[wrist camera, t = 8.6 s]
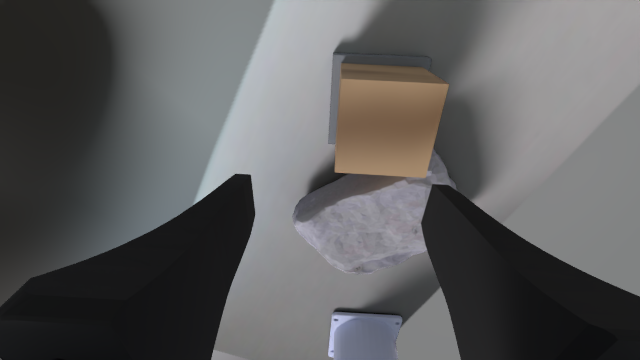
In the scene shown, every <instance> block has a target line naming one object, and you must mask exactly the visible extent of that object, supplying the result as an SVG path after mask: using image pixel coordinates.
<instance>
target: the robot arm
mask: <svg viewBox="0 0 640 360" xmlns="http://www.w3.org/2000/svg"><path fill="white" fill-rule="evenodd" d="M254 218H255V208H254V199H253V190H252V181H251V175H248V174H235V175H233V176H232V177H231V178H229V179H228V180H227V181H225V182H224V183H223V184H221V185H220V186H219V187H218V188H216V189H215V190H214V191H212V192H211V193H210V194H208V195H207V196H206V197H204V198H203V199H202V200H200V201H199V202H197V203H196V204H195V205H193V206H192V207H190V208H189V209H187V210H186V211H184V212H183V213H181V214H180V215H178V216H177V217H175V218H173V219H172V220H170V221H168V222H167V223H165V224H163V225H161V226H160V227H158V228H156V229H154V230H152V231H150V232H148V233H146V234H144V235H142V236H140V237H138V238H136V239H134V240H132V241H129V242H127V243H125V244H123V245H121V246H119V247H116V248H114V249H112V250H109V251H107V252H105V253H102V254H99V255H97V256H94V257H92V258H89V259H87V260H84V261H81V262H78V263H76V264H73V265H70V266H67V267H64V268H61V269H58V270H55V271H52V272H49V273H46V274H43V275H40V276H36V277H33V278H30V279H29V280H28V281H27V282H26V283H25V284H24V285H23V286H22V287H21V288H20V289H19V290H18V291H16V293H14V294H13V295H12V296H11V297H10V298H9V299H8V300H7V301H6V302H5V303H4V304H3V305H2V306H1V307H0V358H1V359H2V360H211V357H212V353H213V349H214V345H215V341H216V337H217V333H218V329H219V325H220V321H221V317H222V314H223V310H224V307H225V303H226V299H227V296H228V293H229V290H230V287H231V284H232V281H233V279H234V276H235V274H236V271H237V269H238V266H239V263H240V261H241V258H242V256H243V253H244V251H245V248H246V246H247V243H248V240H249V238H250V235H251V231H252V227H253V222H254ZM421 227H422V232H423V237H424V241H425V245H426V248H427V251H428V254H429V256H430V259H431V262H432V264H433V267H434V270H435V272H436V275H437V278H438V280H439V283H440V286H441V288H442V291H443V293H444V296H445V299H446V302H447V305H448V309H449V312H450V316H451V320H452V324H453V328H454V332H455V335H456V340H457V344H458V348H459V353H460V357H461V360H640V297H639V296H637V295H634V294H632V293H630V292H627V291H625V290H623V289H620V288H618V287H616V286H613V285H611V284H609V283H606V282H604V281H602V280H600V279H598V278H596V277H594V276H591V275H589V274H587V273H585V272H583V271H581V270H579V269H577V268H575V267H573V266H571V265H569V264H567V263H565V262H563V261H561V260H559V259H558V258H556V257H554V256H552V255H550V254H548V253H546V252H545V251H543V250H541V249H540V248H538V247H536V246H535V245H533V244H531V243H529V242H528V241H526V240H525V239H523V238H521V237H520V236H518V235H517V234H515V233H514V232H512V231H511V230H509V229H508V228H506V227H505V226H503V225H502V224H501V223H499V222H498V221H496V220H495V219H494V218H492V217H491V216H489V215H488V214H487V213H485V212H484V211H483V210H481V209H480V208H479V207H478V206H476V205H475V204H474V203H472V202H471V201H470V200H468V199H467V198H466V197H465V196H463V195H462V194H461V193H459V192H458V191H457V190H455V189H454V188H452V187H451V186H449V185H443V184H432V187H431V191H430V194H429V197H428V201H427V204H426V208H425V211H424V214H423V218H422V221H421ZM401 324H402V317H401V316H398V315H381V314H364V313H347V312H334V313H332V320H331V330H330V341H329V351H328V355H329V356H330V357H334V360H398V354H397V348H396V343H395V342H396V339H397V336H398V333H399V330H400V327H401Z"/></svg>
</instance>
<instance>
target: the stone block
mask: <svg viewBox="0 0 640 360" xmlns="http://www.w3.org/2000/svg"><path fill="white" fill-rule="evenodd" d="M432 184H443V185H449V186H451V187H452V188H454V189H455V190H457V188H456V184H455V183H454V182H453V180H452V179H450V178H449V176H448V172H447V169H446V167H445V165H444V163H443V161H442V160H441V158H440V157H439V155H438V154H436V152H435V149H434V148H433V150H432V154H431V158H430V162H429V166H428V170H427V174H426V178H418V177H402V176H386V175H369V174H353V173H348V174H346V175H344V176H343V177H341V178H340V179H338V180H336V181H334V182H333V183H330V184H327V185H325V186H323V187H321V188H319V189H317V190H315V191H313V192H311V193H310V194H308V195H306V196H305V197H303V198H302V199H301V200H300V201H299V203H298V204H297V205H296V207H295V210H294V213H293V216H292V217H293V222H294V225H295V228H296V230H297V231H298V233H299V234H300V235H301V236H302V237H304V238H305V239H306V240H307V242H308V243H309V244H311V245H312V246H313V247H314V248H315V249H316V250H317V251H318V252H319V253H320V254H321V255H322V256H323V257H324V258H325V259H326V260H327V261H328V262H329V263H330V264H331V265H332V266H334V267H336V268H337V269H339V270H341V271H343V272H345V273H355V274H370V273H373V272H375V271H376V270H379V269H382V268H388V267H391V266H394V265H397V264H399V263H401V262H403V261H405V260H406V259H408V258H409V257H410V256H411V255H415V254H418V253H423V252H425V251H427V248H426V245H425V241H424V237H423V232H422V227H421V221H422V218H423V214H424V211H425V208H426V204H427V201H428V197H429V194H430V191H431V187H432Z"/></svg>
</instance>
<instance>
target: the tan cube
mask: <svg viewBox="0 0 640 360" xmlns="http://www.w3.org/2000/svg"><path fill="white" fill-rule="evenodd" d="M448 87H449V84H448V83H446V82H445V81H443V80H442V79H440V78H439V77H437V76H436V75H434V74H432V73H431V72H429V71H428V70H426V69H425V68H423V67H411V66H390V65H370V64H349V63H341V69H340V84H339V98H338V113H337V127H336V145H335V172H337V173H353V174H369V175H386V176H402V177H418V178H426V174H427V170H428V166H429V162H430V158H431V154H432V150H433V146H434V142H435V138H436V134H437V130H438V126H439V122H440V118H441V115H442V111H443V107H444V103H445V99H446V95H447V91H448Z"/></svg>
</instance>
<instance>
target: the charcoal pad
mask: <svg viewBox="0 0 640 360" xmlns="http://www.w3.org/2000/svg"><path fill="white" fill-rule="evenodd" d="M431 61H432V59H431V58H429V57H419V56H396V55H373V54H351V53H333V67H332V85H331V104H330V122H329V140H328V144H336V127H337V113H338V98H339V84H340V69H341V63H349V64H370V65H390V66H411V67H423V68H425V69H426V70H428V71H429V70H430V66H431Z"/></svg>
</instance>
